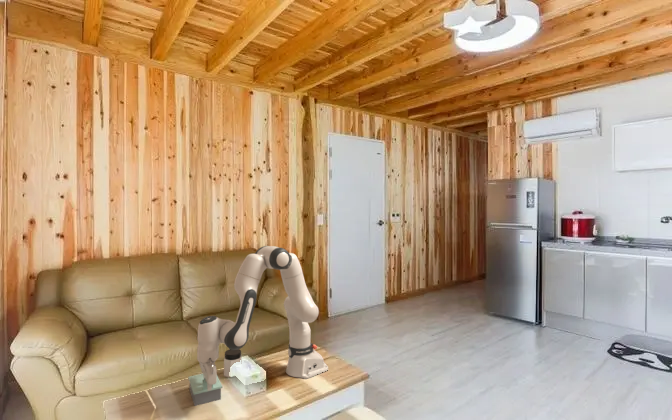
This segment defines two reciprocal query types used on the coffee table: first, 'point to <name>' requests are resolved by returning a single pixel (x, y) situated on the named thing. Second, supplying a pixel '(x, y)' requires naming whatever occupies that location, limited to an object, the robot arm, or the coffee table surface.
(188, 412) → the coffee table surface
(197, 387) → the lid
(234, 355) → the jar
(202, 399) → the tub
